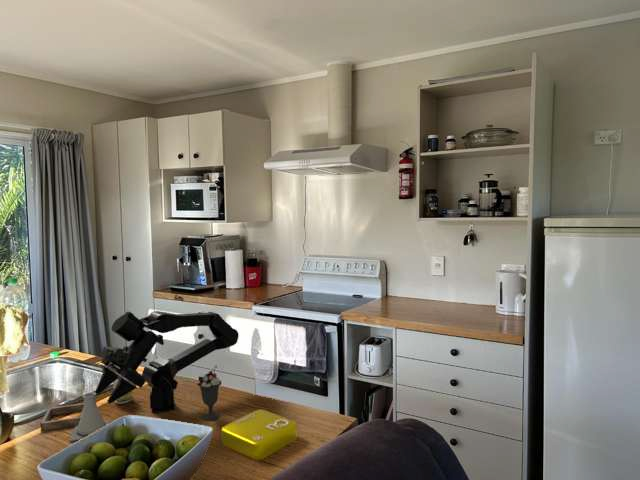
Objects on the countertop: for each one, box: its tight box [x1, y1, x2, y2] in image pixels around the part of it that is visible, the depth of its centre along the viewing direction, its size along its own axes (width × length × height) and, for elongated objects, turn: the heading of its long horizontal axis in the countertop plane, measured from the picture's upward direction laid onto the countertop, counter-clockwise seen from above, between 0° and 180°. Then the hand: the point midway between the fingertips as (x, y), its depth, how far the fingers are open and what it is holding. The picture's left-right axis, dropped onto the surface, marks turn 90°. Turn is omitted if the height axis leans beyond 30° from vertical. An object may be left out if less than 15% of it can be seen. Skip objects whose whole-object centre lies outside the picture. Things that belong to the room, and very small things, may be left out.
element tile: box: [220, 409, 298, 461], centre depth 124 cm, size 15×15×5 cm
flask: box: [76, 391, 106, 435], centre depth 130 cm, size 7×7×10 cm
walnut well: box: [40, 402, 84, 431], centre depth 138 cm, size 11×11×2 cm
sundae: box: [197, 365, 222, 422], centre depth 137 cm, size 7×7×15 cm
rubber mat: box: [69, 420, 111, 443], centre depth 130 cm, size 9×9×1 cm
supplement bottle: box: [112, 372, 133, 405], centre depth 150 cm, size 5×5×10 cm
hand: (102, 397), depth 132 cm, fingers open, 9 cm apart
